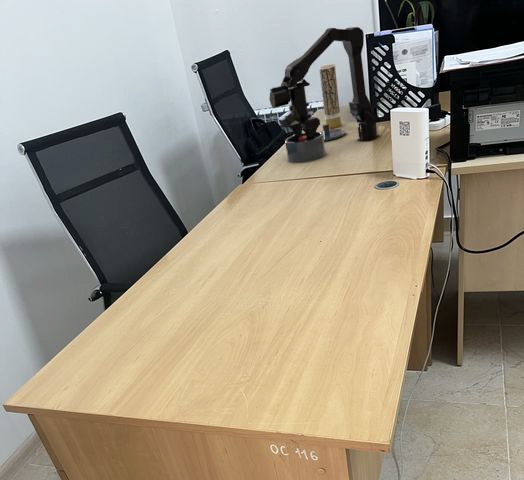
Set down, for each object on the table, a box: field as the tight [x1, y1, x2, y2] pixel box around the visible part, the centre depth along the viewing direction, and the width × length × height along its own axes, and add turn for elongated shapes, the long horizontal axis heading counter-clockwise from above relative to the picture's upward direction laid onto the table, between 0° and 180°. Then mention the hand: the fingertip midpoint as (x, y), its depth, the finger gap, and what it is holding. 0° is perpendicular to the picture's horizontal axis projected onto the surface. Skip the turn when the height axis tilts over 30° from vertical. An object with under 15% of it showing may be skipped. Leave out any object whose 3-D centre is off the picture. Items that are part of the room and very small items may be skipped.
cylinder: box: [298, 136, 307, 142], centre depth 210 cm, size 4×4×7 cm
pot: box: [284, 131, 326, 164], centre depth 210 cm, size 15×15×8 cm
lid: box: [320, 123, 347, 142], centre depth 231 cm, size 16×16×5 cm
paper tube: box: [318, 63, 342, 129], centre depth 240 cm, size 7×7×25 cm
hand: (304, 144), depth 210 cm, fingers open, 9 cm apart
